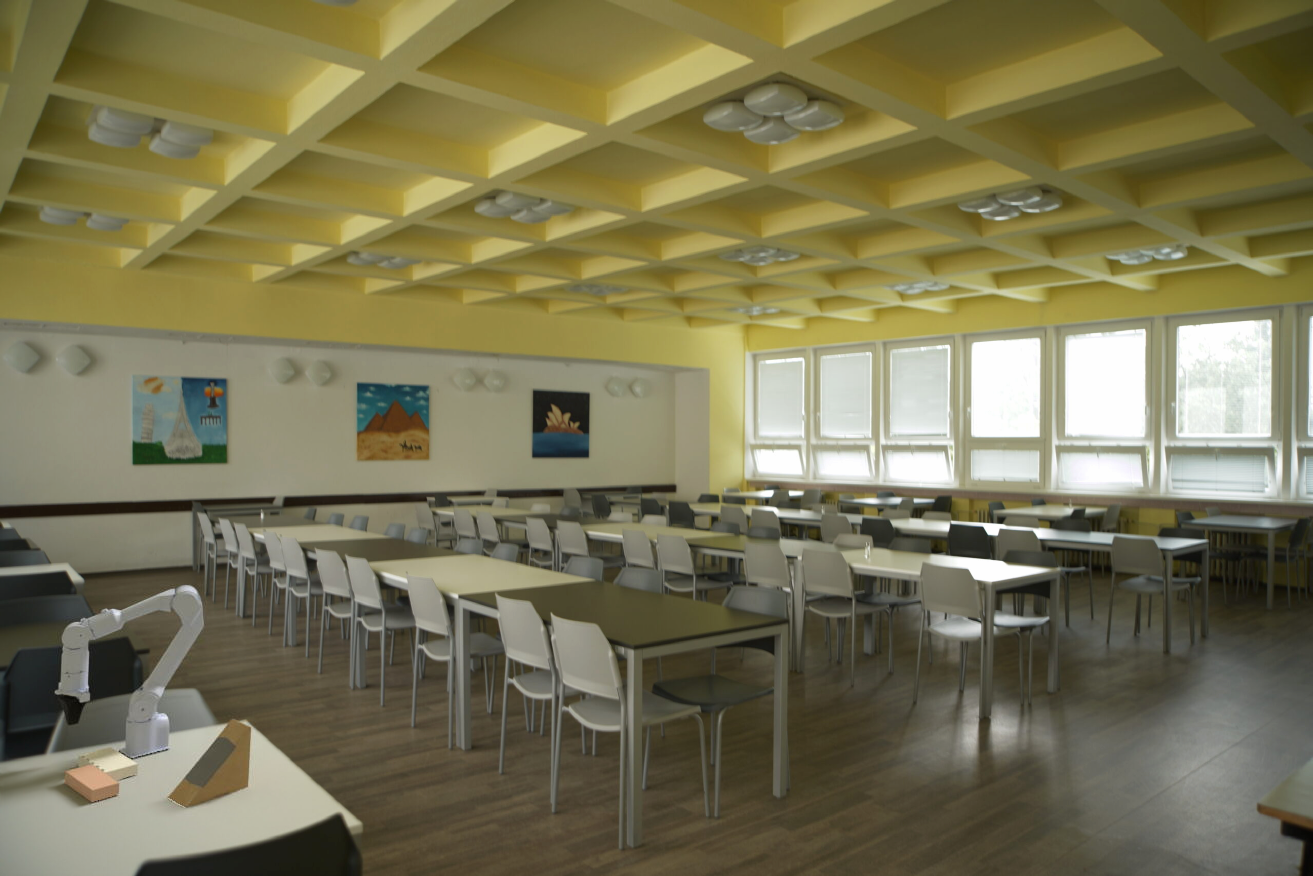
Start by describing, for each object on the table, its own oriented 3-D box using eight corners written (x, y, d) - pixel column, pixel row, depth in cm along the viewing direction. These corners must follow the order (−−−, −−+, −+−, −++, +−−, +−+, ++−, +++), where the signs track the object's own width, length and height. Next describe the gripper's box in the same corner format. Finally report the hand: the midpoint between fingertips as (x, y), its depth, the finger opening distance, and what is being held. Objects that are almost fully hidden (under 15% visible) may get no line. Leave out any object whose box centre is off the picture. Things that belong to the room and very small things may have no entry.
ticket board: (110, 758, 217) (110, 746, 217) (137, 775, 207) (137, 763, 207) (78, 766, 211) (78, 754, 211) (104, 784, 201) (105, 772, 201)
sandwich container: (165, 798, 196) (167, 734, 196) (229, 778, 208) (232, 717, 208) (183, 809, 191) (186, 743, 191) (248, 787, 203) (251, 726, 203)
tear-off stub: (90, 775, 205) (91, 764, 205) (118, 794, 196) (119, 783, 196) (64, 782, 201) (65, 771, 201) (92, 802, 191) (92, 790, 191)
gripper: (45, 668, 215) (43, 721, 215) (67, 680, 206) (65, 735, 206) (77, 662, 220) (75, 714, 221) (100, 674, 212) (97, 727, 212)
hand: (72, 724), depth 214 cm, fingers closed
